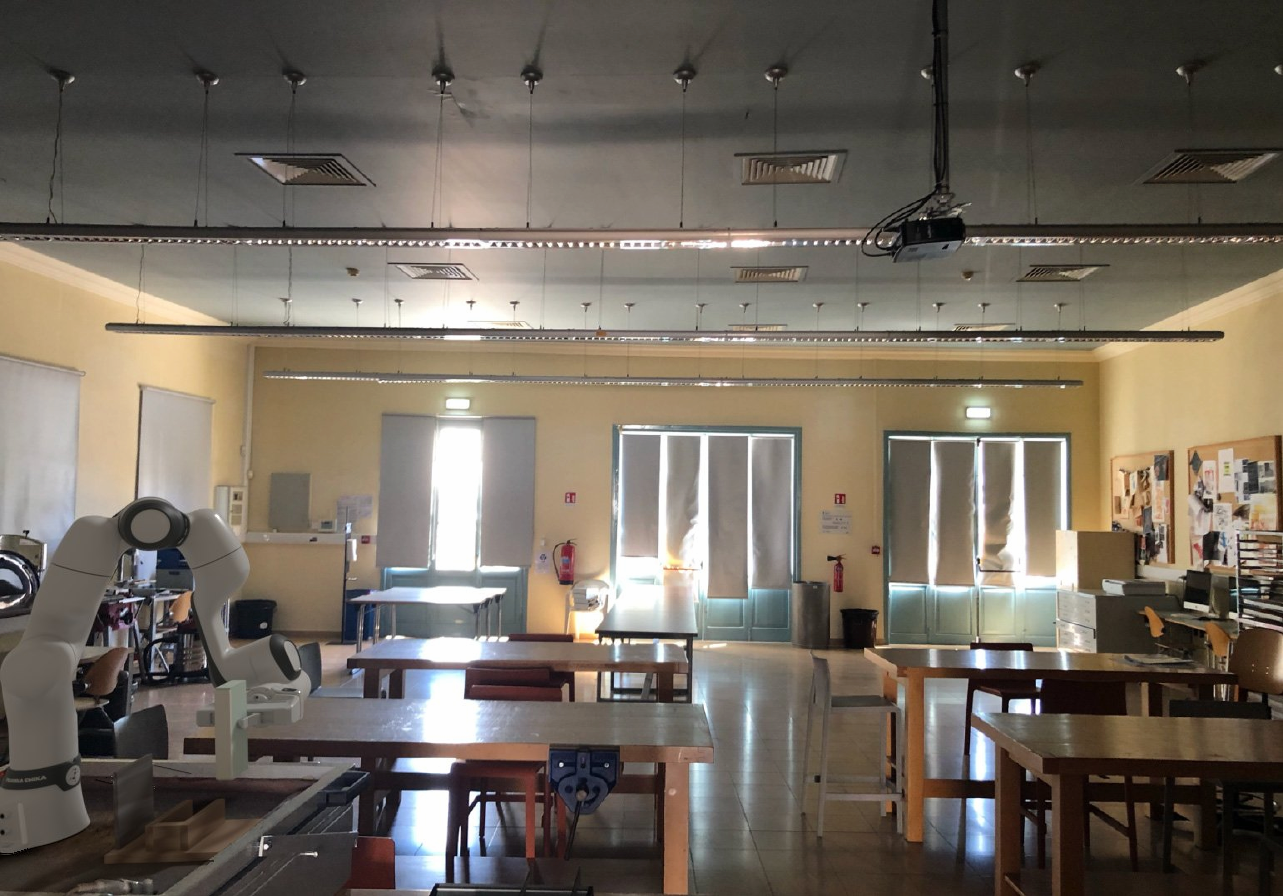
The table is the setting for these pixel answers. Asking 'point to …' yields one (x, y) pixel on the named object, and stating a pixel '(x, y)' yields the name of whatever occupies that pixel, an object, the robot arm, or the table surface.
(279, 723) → the robot arm
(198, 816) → the stand
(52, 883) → the table surface
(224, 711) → the pale green flat block
